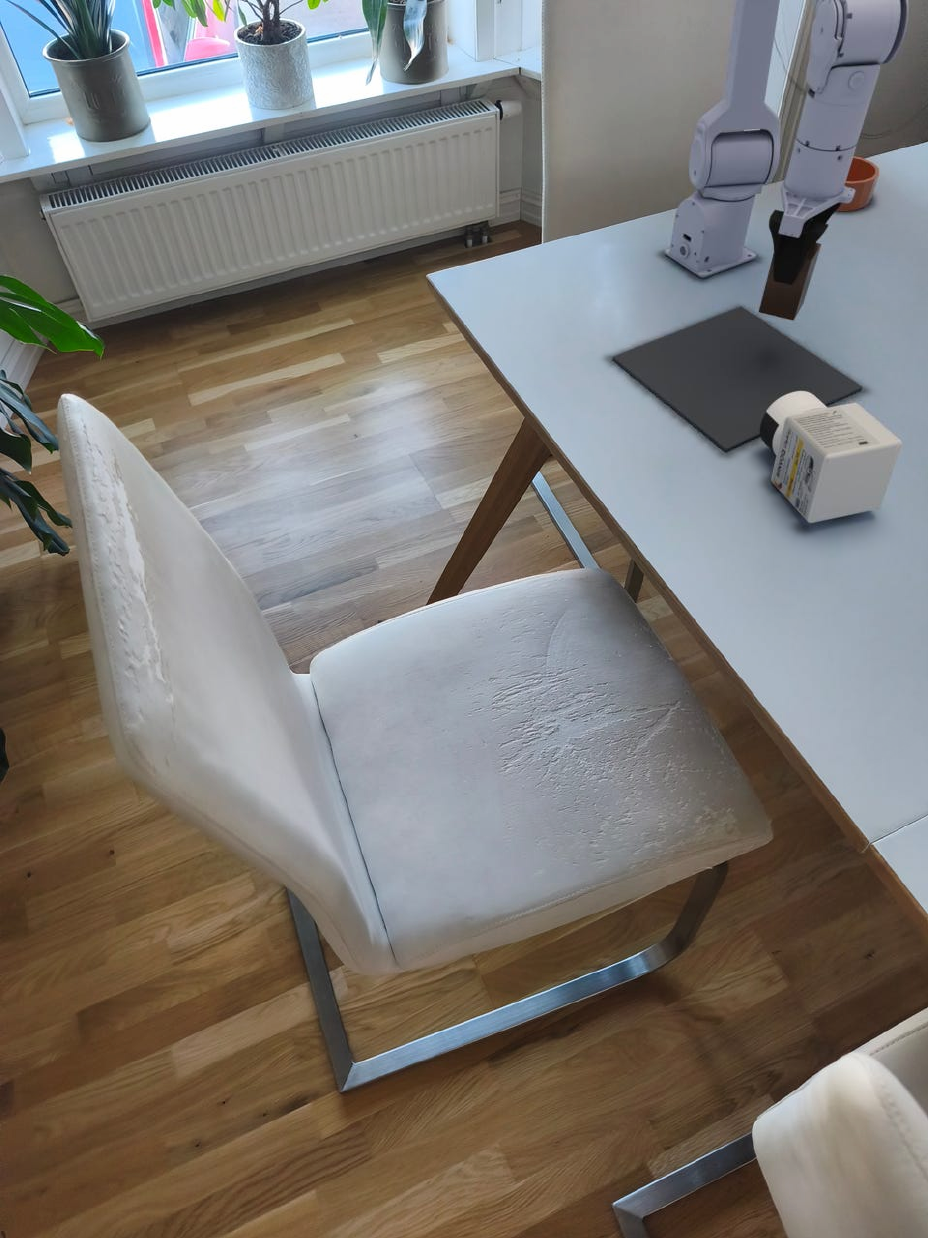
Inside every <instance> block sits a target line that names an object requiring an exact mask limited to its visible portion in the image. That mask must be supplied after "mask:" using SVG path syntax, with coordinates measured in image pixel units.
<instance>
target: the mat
mask: <svg viewBox="0 0 928 1238" xmlns="http://www.w3.org/2000/svg"><path fill="white" fill-rule="evenodd" d="M611 360H612V361H614V362H615V363H616V364H617V365H618V366H620V368H622V369H623V370H625V371H626V373H628V374H629V375H631V376H632V377H633V378H634V379H636V381H638V382H639V383H641V384H642V385H643V386H644V387H646V389H647V390H649V391H650V392H651V393H653V394H654V395H655V396H656V397H658V398H659V399H660V400H661V401H662V402H664V404H666V405H667V406H668V407H670V408H671V409H672V410H674V411H675V412H676V413H677V414H679V415H680V416H681V417H682V418H683V419H685V420H686V421H687V422H688V423H689V424H690V425H692V426H693V427H694V428H696V429H697V430H698V431H699V432H701V433H702V434H703V435H704V436H706V437H707V438H708V439H709V440H710V441H711V442H713V443H714V444H715V445H716V446H717V447H719V448H720V449H721V450H723V451H724V452H728V451H730V450H733V449H736V448H737V447H739V446H741V445H743V444H746V443H748V442H750V441H752V440H754V439H757V438H758V437H759V438H760V437H761V436H760V424H761V421H762V418H763V416H764V414H765V412H766V411H767V410H768V408H769V407H770V406H771V405H772V404H773V403H774V402H775V401H776V400H778V399H779V398H781V397H782V396H784V395H786V394H789V393H792V392H796V391H806V392H809V393H811V394H813V395H814V396H815V397H816V398H818V399H819V400H820V401H821V402H822V403H823V404H824V405H825V406H826V407H827V406H829V405H831V404H834V403H835V402H838V401H840V400H842V399H845V398H846V397H849V396H851V395H853V394H855V393H857V392H860V391H862V390H863V386H862V385H861V384H859V383H858V382H856V381H855V380H853V379H851V378H850V377H848V376H846V374H844V373H843V372H841V371H839V370H838V369H837V368H835V367H833V366H832V365H830V364H829V363H827V362H826V361H824V360H823V359H821V358H820V357H819V356H817V355H815V353H812V352H811V351H809V350H808V349H806V348H805V347H803V346H802V345H800V344H798V342H796V341H794V340H793V339H791V338H790V337H788V336H787V335H785V334H784V333H782V332H781V331H780V330H779V329H778V330H777V329H776V328H775V327H773V326H772V325H771V324H769V323H767V322H766V321H764V319H761V318H760V317H759V316H757V315H756V314H754V313H752V312H751V311H749V310H748V309H746V308H745V307H743V306H738V307H735V308H733V309H730V310H728V311H726V312H725V311H724V312H723V313H720V314H718V315H715V316H713V317H710V318H707V319H705V320H703V321H700V322H697V323H695V324H692V325H689V326H687V327H684V328H682V329H680V330H677V331H675V332H672V333H670V334H666V335H665V336H661V337H659V338H657V339H654V340H651V341H648V342H647V343H644V344H641V345H639V346H635V347H634V348H631V349H629V350H626V351H623V352H621V353H618V354H615V355H613V356H612V359H611Z"/></svg>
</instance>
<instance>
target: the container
mask: <svg viewBox="0 0 928 1238" xmlns="http://www.w3.org/2000/svg"><path fill="white" fill-rule="evenodd" d="M759 437H760V439H761V441H762V442H763V443H764V444H765V446H767V447H768V448H769V449H770V451H771V452H773V454H774V455H775V461H774V465H773V470H772V473H771V479H770V480H771V481H770V482H771V483H772V484H773V485H774V486H775V487H776V489H778V490H779V492H780V493H781V494H782V495H783V496H784V498H786V499H787V500H788V502H789V503H790V504H791V505H792V506H793V507H794V508H795V509H796V511H797V512H799V514H800V515H801V516H802V517H803V519H805V521H806V522H807V523H809V524H813V523H818V522H823V521H828V520H833V519H837V518H841V517H847V516H851V515H856V514H861V513H866V512H869V511H875V510H879V509H880V508H881V506H882V504H883V501H884V499H885V495H886V492H887V489H888V486H889V483H890V480H891V477H892V475H893V471H894V469H895V467H896V464H897V463H896V462H897V460H898V457H899V454H900V451H901V448H902V446H903V442H902V440H901V439H900V438H898V437H897V436H896V435H895V434H894V433H893V432H891V431H890V430H889V429H888V428H887V427H885V426H884V424H883V423H881V422H880V421H879V420H878V419H876V418H875V417H874V416H873V415H872V414H871V413H869V411H867V410H866V409H865V408H864V407H862V406H861V405H860V404H859V403H858V402H850V403H846V404H841V405H835V406H831V407H827V406H825V405H824V404H823V403H822V402H821V401H820V400H819V399H818V398H816V397H815V396H814V395H813V394H811V393H809V392H806V391H796V392H792V393H789V394H786V395H784V396H782V397H781V398H779V399H778V400H776V401H775V402H774V403H773V404H772V405H771V406H770V407H769V408H768V410H767V411H766V412H765V414H764V416H763V418H762V421H761V424H760V436H759Z"/></svg>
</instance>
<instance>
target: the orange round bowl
mask: <svg viewBox="0 0 928 1238" xmlns="http://www.w3.org/2000/svg"><path fill="white" fill-rule="evenodd" d="M879 176H880V168H879V167H878V166H877V165H876V164H875V162H873V161H870V160H868V159H866V158H864V157H860V156H855V155H854V156H853V159H852V162H851V166H850V169H849V172H848V175H847V179H846V182H845V186H846V187H848V188H853V189H855V194H854V197H853V199H852V201H851V202H850V203H842V204H841V205H840V207H839V208H838V209H837V210H836V211H837V212H853V211H857V210H861V209H864V208H865V207H866V206H868V205H869V203H870V201H871V199H872V198H873V194H874V191H875V188H876V185H877V182H878V179H879ZM836 211H835V212H836Z"/></svg>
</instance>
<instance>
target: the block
mask: <svg viewBox="0 0 928 1238" xmlns="http://www.w3.org/2000/svg"><path fill="white" fill-rule="evenodd" d="M821 247H822V243H819V242H816V243H815V244H814V245H813V246H812V248H811V250H810V251H809V253H808V255H807V257H806V260H805V262H804V264H803V266H802V268H801V271H800V273H799V274H798V276H797V278H796V280H795V281H794V283H793V284H792V285H788V284H784V283H780V282H776V281H774V278H773V266H774V253H773V255H772V259H771V262H770V266H769V269H768V273H767V278H766V281H765V284H764V289H763V292H762V296H761V300H760V304H759V308H758V313H759V314H764V315H767V316H772V317H775V318H779V319H783V320H784V319H785V320H788V321H793V322H794V321H795V320H796V318H797V316H798V315H799V312H800V311H801V309H802V307H803V305H804V303H805V300H806V297H807V293H808V290H809V287H810V284H811V280H812V276H813V274H814V270H815V268H816V263H817V261H818V258H819V254H820V250H821Z"/></svg>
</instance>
